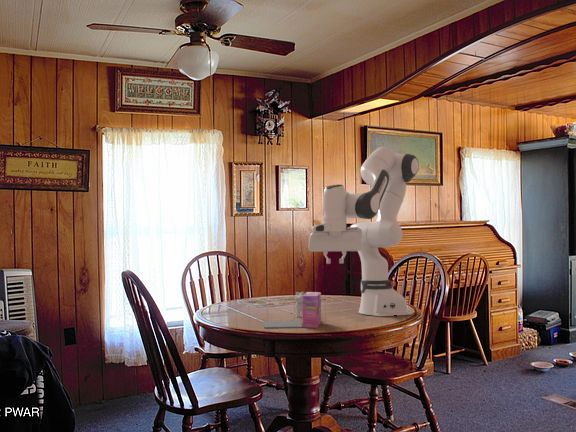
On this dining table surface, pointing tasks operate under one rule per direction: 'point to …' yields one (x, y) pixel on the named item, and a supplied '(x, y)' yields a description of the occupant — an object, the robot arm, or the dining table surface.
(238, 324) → the dining table surface
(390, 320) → the dining table surface
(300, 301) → the dog figurine
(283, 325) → the mat
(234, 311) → the dining table surface
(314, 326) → the box
